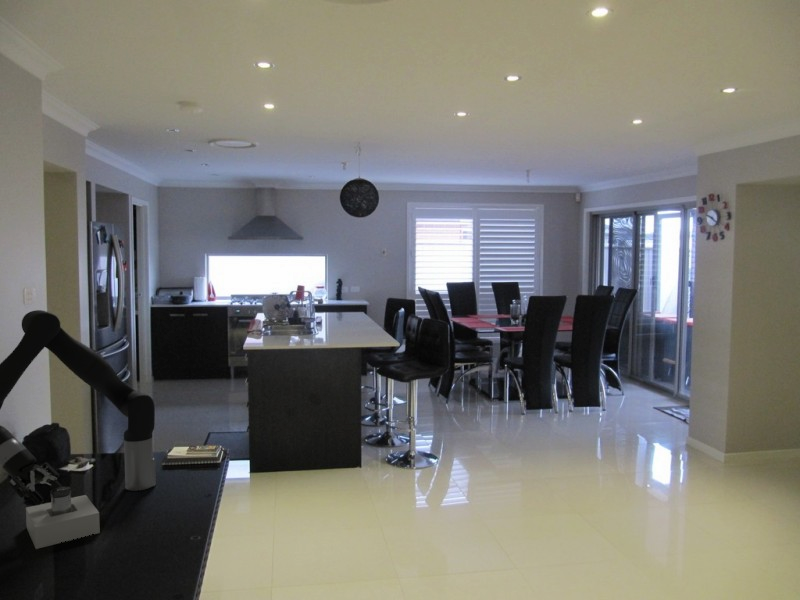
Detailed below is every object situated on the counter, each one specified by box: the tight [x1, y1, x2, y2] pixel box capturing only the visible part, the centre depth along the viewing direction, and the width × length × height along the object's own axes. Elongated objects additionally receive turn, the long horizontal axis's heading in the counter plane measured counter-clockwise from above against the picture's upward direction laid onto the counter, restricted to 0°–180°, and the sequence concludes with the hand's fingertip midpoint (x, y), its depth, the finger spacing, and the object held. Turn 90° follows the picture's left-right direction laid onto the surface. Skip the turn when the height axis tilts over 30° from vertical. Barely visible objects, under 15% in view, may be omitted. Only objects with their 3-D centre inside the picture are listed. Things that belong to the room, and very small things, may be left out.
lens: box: [50, 486, 72, 516], centre depth 177 cm, size 5×5×10 cm
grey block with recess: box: [25, 494, 101, 550], centre depth 177 cm, size 16×18×6 cm
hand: (52, 497), depth 177 cm, fingers open, 8 cm apart
